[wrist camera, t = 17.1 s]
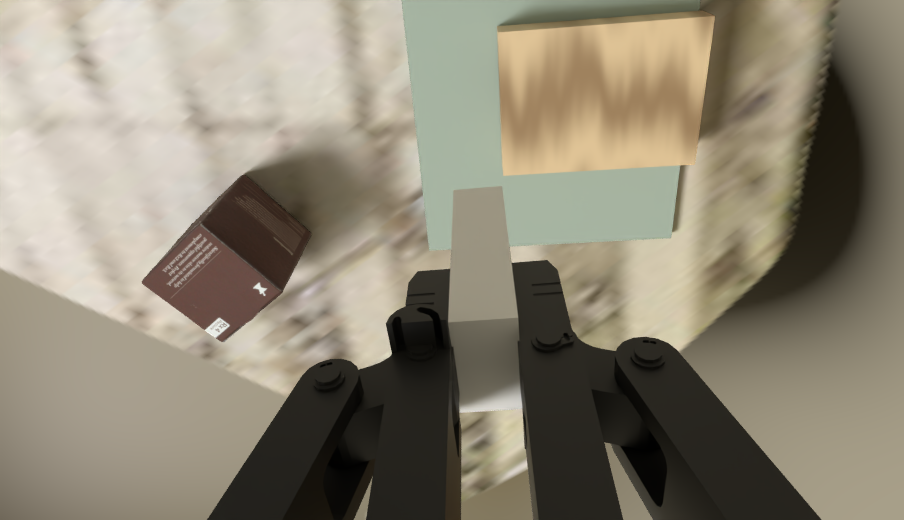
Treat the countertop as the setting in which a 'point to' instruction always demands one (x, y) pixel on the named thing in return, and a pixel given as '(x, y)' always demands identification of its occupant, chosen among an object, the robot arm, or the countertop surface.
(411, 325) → the robot arm
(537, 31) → the tile
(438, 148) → the mat
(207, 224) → the box
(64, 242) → the countertop surface
